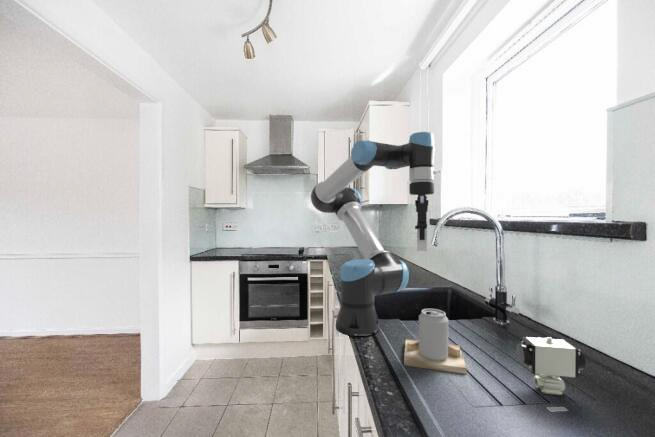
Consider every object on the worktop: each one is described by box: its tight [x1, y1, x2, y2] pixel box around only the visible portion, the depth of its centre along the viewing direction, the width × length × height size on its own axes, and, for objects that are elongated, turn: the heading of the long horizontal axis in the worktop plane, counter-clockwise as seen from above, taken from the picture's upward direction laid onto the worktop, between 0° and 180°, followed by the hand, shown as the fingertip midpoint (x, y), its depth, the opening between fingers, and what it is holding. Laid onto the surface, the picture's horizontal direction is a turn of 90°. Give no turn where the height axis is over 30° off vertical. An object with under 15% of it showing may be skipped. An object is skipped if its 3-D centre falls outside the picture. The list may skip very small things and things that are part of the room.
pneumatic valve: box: [515, 336, 587, 396], centre depth 66 cm, size 6×12×12 cm, turn 78°
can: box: [418, 308, 449, 361], centre depth 78 cm, size 8×8×12 cm
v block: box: [403, 339, 468, 375], centre depth 80 cm, size 13×15×4 cm
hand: (421, 248), depth 93 cm, fingers open, 13 cm apart
